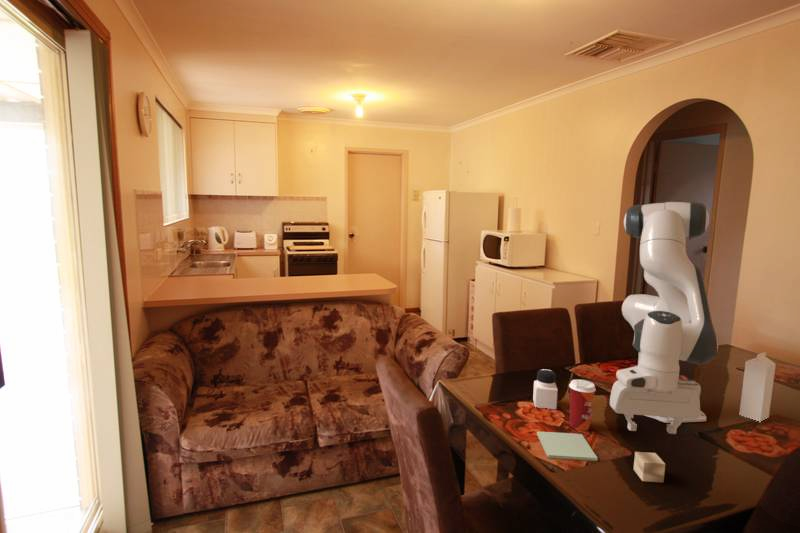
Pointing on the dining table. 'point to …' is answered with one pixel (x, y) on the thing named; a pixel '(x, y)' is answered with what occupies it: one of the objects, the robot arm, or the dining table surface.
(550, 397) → the medicine bottle
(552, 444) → the board
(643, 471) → the cube
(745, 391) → the milk
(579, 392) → the paper cup
